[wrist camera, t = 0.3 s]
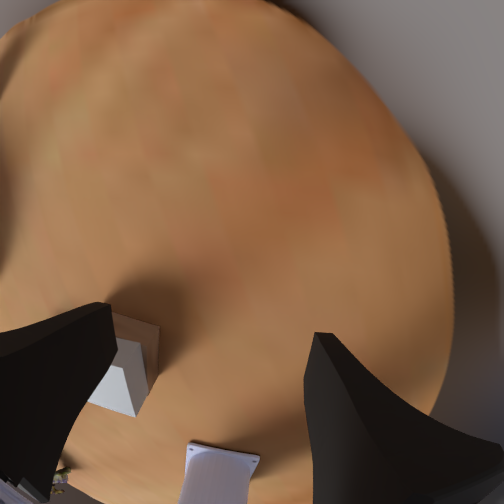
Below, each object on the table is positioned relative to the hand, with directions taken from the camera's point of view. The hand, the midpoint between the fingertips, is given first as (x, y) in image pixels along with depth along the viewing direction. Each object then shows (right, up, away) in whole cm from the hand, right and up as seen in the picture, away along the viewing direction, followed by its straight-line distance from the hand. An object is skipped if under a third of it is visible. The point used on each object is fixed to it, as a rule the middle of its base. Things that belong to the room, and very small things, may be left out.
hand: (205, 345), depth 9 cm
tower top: (-9, -5, +10) cm, 14 cm away
